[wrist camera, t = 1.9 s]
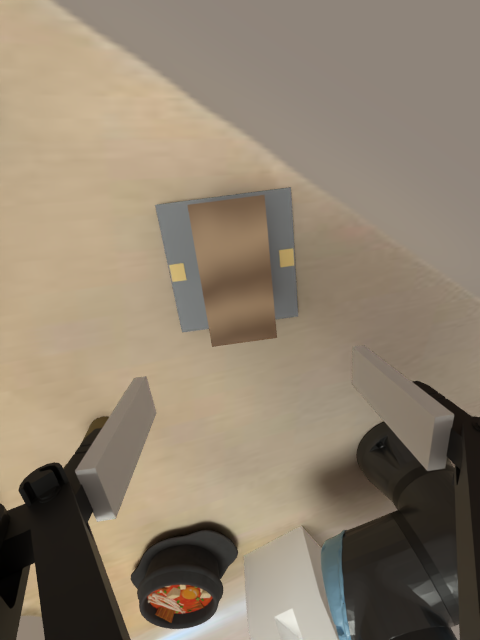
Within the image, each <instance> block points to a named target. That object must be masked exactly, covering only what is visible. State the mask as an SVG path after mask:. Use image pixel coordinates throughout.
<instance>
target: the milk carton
mask: <svg viewBox="0 0 480 640" xmlns="http://www.w3.org/2000/svg"><path fill="white" fill-rule="evenodd" d="M321 549H322V548H321V547H320V546H319V545H318V543H317V542H316V541H315V540H314V539H313V538H312V537H311V536H310V535H309V533H308V532H307V531H306V530H305V529H304V528H303V527H302V526H300V527H298V528H296V529H294V530H292V531H290V532H288V533H286V534H284V535H282V536H280V537H278V538H277V539H275V540H273V541H271V542H269V543H267V544H265V545H263V546H261V547H259V548H257V549H255V550H254V551H252V552H250V553H248V554H246V555H244V571H245V588H246V605H247V621H248V631H249V635H250V639H251V640H339V637H338V633H337V630H336V625H335V624H334V622H333V619H332V616H331V612H330V609H329V605H328V601H327V596H326V592H325V587H324V582H323V577H322V570H321Z"/></svg>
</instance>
